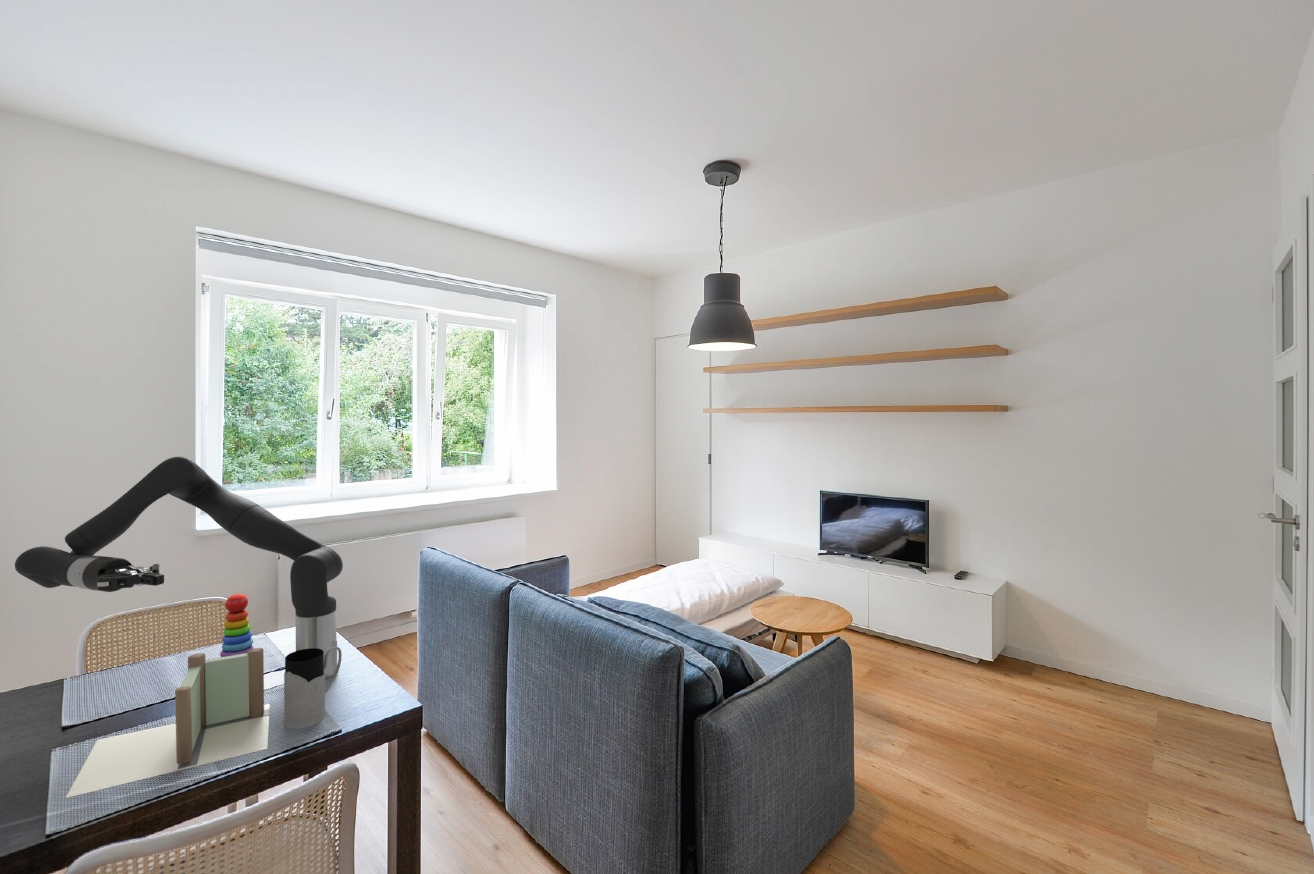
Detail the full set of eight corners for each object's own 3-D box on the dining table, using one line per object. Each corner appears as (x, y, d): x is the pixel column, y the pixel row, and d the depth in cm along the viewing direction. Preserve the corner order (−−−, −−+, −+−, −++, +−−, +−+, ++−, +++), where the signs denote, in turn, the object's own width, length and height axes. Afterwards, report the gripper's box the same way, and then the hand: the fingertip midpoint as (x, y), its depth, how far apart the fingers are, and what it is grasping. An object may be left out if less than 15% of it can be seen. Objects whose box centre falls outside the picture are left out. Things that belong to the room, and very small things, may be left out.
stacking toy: (262, 658, 162) (261, 592, 162) (233, 670, 155) (232, 601, 154) (242, 653, 165) (241, 588, 164) (212, 665, 158) (211, 597, 157)
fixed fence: (264, 710, 135) (263, 642, 134) (263, 716, 132) (263, 647, 131) (190, 726, 127) (188, 654, 127) (188, 732, 125) (186, 660, 124)
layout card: (269, 705, 138) (269, 703, 138) (267, 750, 120) (267, 747, 120) (97, 741, 122) (97, 739, 122) (65, 799, 104) (65, 797, 104)
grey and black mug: (272, 725, 129) (272, 659, 128) (326, 695, 143) (326, 636, 142) (302, 733, 127) (302, 666, 126) (355, 702, 140) (354, 641, 139)
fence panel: (189, 730, 125) (187, 664, 124) (203, 727, 126) (202, 662, 125) (175, 766, 113) (173, 692, 112) (191, 762, 114) (189, 690, 113)
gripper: (64, 564, 125) (127, 571, 122) (131, 550, 138) (190, 555, 135) (65, 598, 126) (127, 606, 122) (132, 581, 139) (190, 587, 135)
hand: (160, 579), depth 128 cm, fingers closed
